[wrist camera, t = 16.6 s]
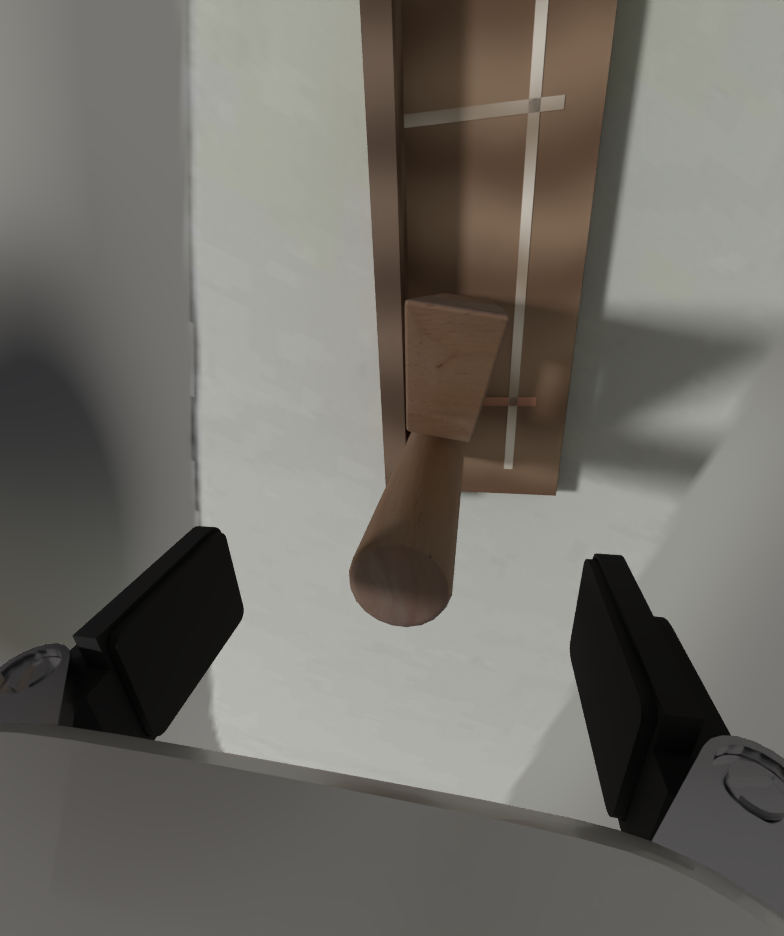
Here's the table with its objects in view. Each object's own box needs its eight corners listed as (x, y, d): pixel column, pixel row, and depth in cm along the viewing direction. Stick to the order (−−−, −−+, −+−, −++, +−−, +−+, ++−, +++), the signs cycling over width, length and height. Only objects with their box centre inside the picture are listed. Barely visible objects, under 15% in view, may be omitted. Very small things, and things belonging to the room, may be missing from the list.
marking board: (376, -29, 22) (354, -97, 18) (619, -75, 20) (655, -164, 16) (397, 480, 34) (387, 506, 30) (552, 486, 32) (563, 515, 28)
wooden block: (496, 300, 26) (524, 322, 10) (461, 456, 31) (443, 646, 15) (438, 291, 27) (376, 300, 11) (412, 447, 31) (341, 621, 15)
